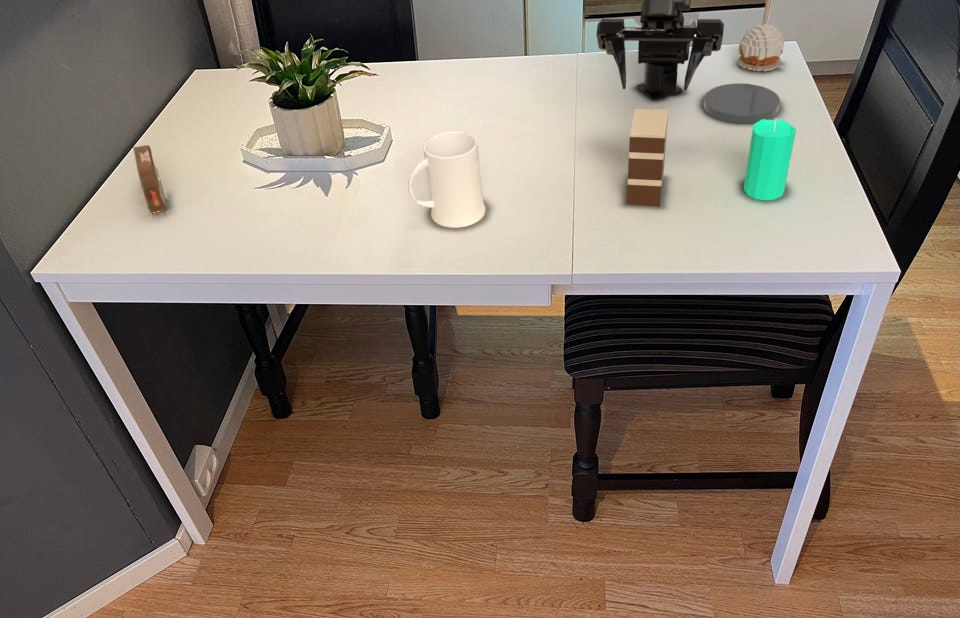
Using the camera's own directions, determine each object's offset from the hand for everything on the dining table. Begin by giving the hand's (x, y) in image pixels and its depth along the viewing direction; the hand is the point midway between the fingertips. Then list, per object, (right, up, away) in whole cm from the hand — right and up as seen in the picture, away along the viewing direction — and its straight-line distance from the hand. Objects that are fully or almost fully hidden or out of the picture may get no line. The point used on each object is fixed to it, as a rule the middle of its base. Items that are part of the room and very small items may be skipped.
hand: (654, 89), depth 121 cm
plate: (+20, +3, +22) cm, 30 cm away
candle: (+17, -16, +1) cm, 23 cm away
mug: (-32, -19, +2) cm, 37 cm away
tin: (-81, -15, +14) cm, 84 cm away
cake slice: (-1, -15, +3) cm, 16 cm away
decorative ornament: (+28, +14, +34) cm, 46 cm away
